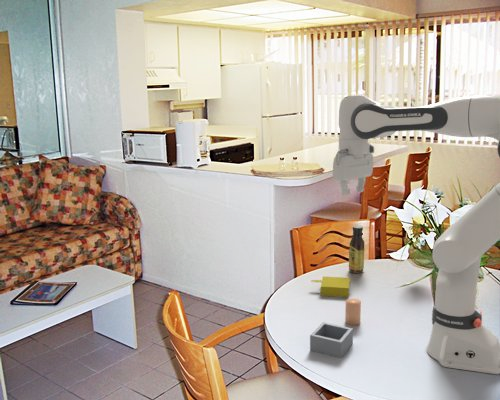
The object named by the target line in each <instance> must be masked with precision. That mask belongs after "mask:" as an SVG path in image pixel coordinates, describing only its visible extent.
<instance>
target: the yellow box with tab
mask: <svg viewBox="0 0 500 400" xmlns="http://www.w3.org/2000/svg"><path fill="white" fill-rule="evenodd" d="M349 275H350V277H344V276H343V277H341V276H340V277H339V276H322V278H321V279H322V280H319V279H311V282H312V283H321V284H320V296H324V297H325V296H326V297H343V298H349V297H350V296H349V292H350V291H349V289H350V285H351V282H352V280H351V273H350V274H349Z"/></svg>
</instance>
